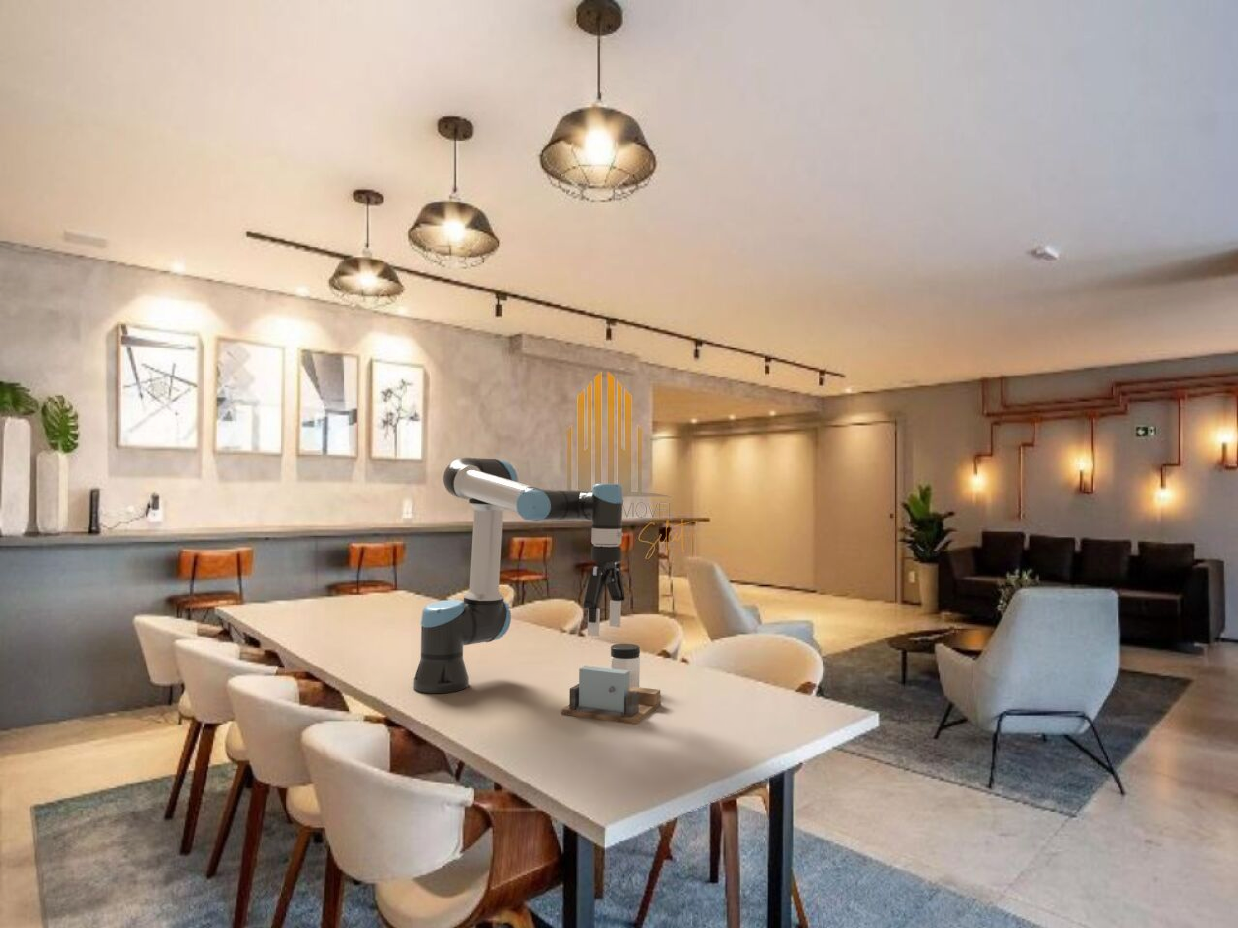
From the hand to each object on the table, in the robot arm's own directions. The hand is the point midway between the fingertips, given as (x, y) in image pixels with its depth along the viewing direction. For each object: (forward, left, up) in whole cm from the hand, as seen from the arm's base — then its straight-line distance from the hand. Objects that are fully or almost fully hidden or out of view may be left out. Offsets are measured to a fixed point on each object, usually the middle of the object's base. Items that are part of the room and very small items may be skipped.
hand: (604, 631), depth 179 cm
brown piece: (0, +5, -21) cm, 21 cm away
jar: (-4, +24, -21) cm, 32 cm away
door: (0, 0, -19) cm, 19 cm away
